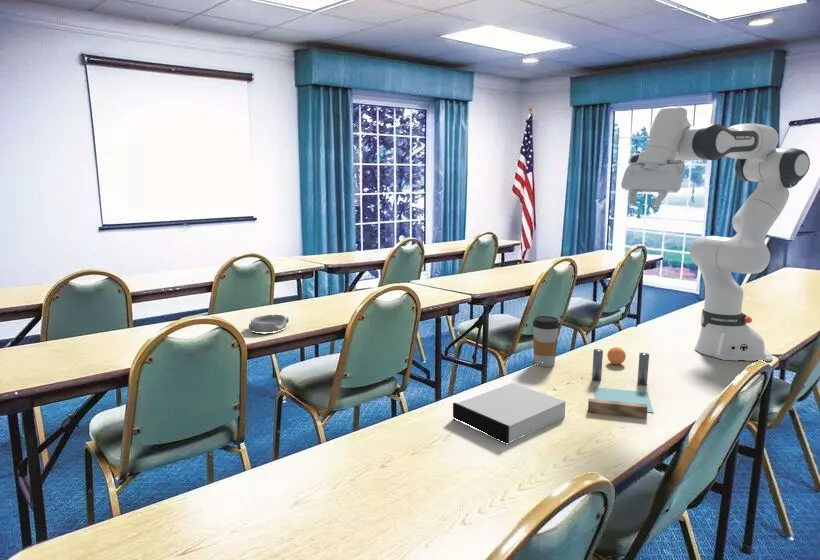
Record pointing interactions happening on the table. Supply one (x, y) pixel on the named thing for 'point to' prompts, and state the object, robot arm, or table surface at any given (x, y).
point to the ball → (616, 355)
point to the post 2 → (643, 368)
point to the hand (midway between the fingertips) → (643, 205)
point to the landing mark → (624, 396)
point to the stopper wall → (617, 408)
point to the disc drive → (509, 411)
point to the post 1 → (597, 364)
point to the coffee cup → (545, 340)
